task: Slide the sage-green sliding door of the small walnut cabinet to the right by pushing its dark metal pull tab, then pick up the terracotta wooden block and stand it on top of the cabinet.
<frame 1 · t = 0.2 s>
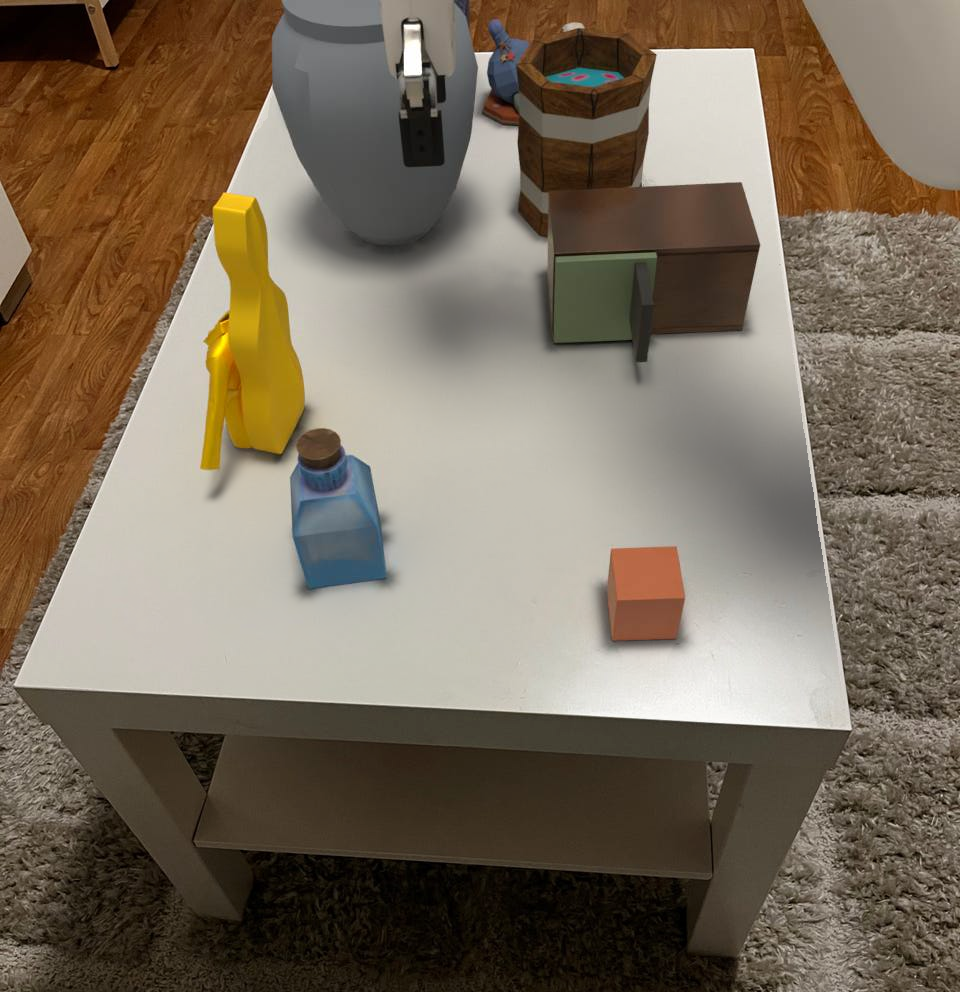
hand: (425, 132, 79), 19 cm above the table, tool pointing down, fingers open, 9 cm apart
planter: (394, 115, 118), on the table
model: (533, 108, 118), on the table
vase: (394, 227, 105), on the table
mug: (576, 193, 107), on the table
block: (641, 614, 73), on the table
figure statuette: (272, 432, 87), on the table
cabinet: (641, 302, 95), on the table
perfume bottle: (345, 555, 78), on the table
door: (605, 320, 86), point 5 cm above the table, slide at 0.0 cm
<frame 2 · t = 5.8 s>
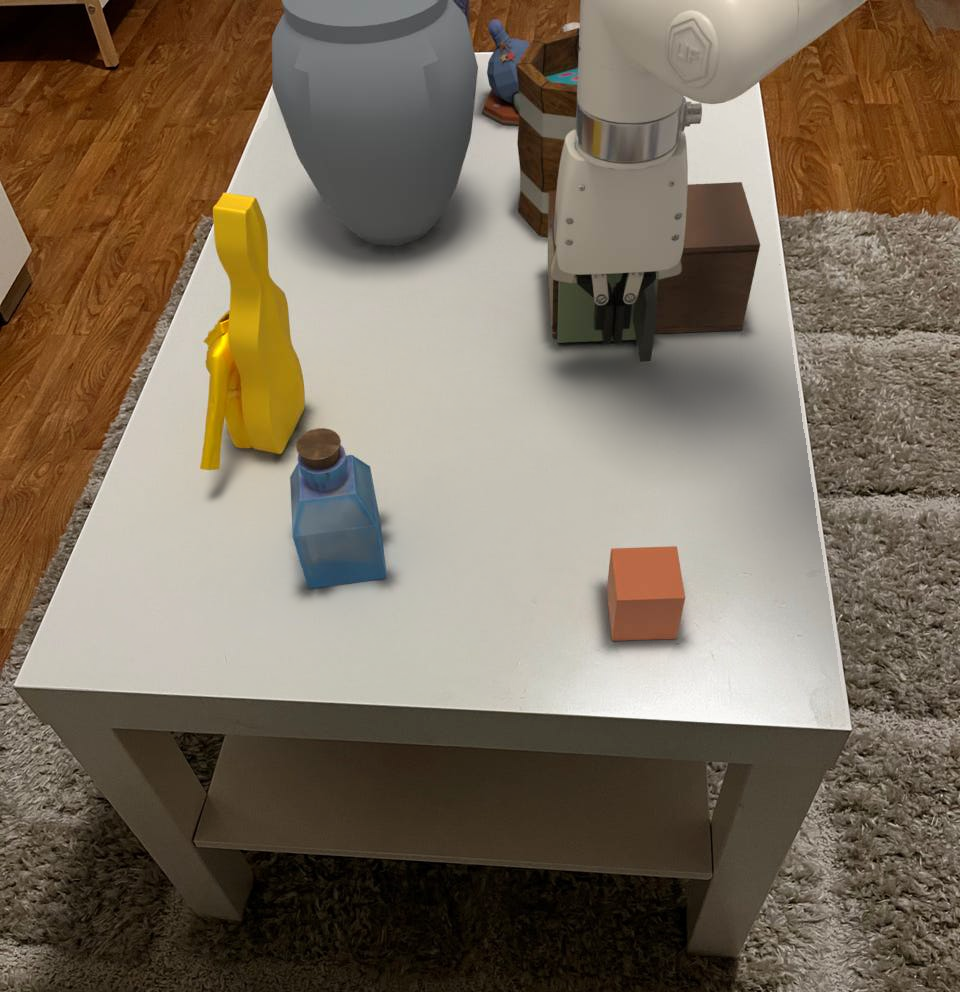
hand: (610, 333, 85), 5 cm above the table, tool pointing down, fingers closed
door: (609, 319, 86), point 5 cm above the table, slide at 0.4 cm, touching gripper
everything else where it was.
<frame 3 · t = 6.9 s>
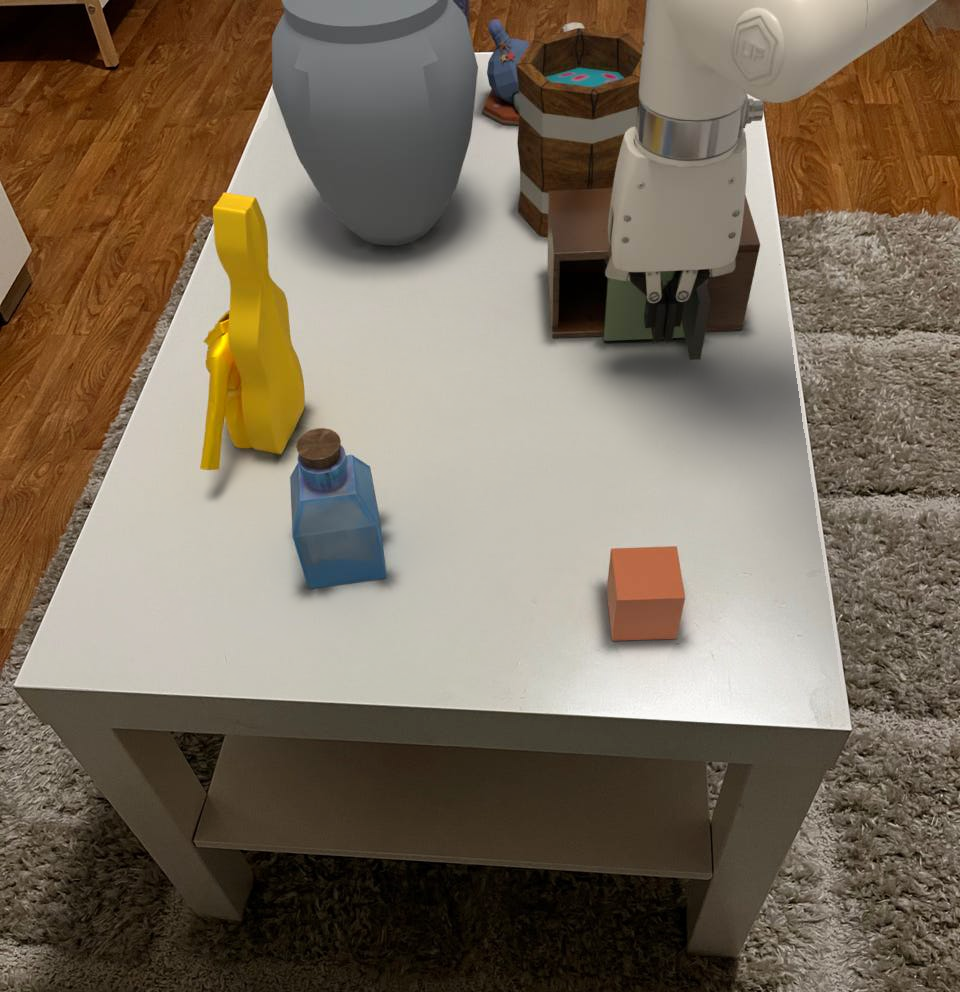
hand: (660, 331, 85), 5 cm above the table, tool pointing down, fingers closed
door: (659, 317, 86), point 5 cm above the table, slide at 4.7 cm, touching gripper
everything else where it was.
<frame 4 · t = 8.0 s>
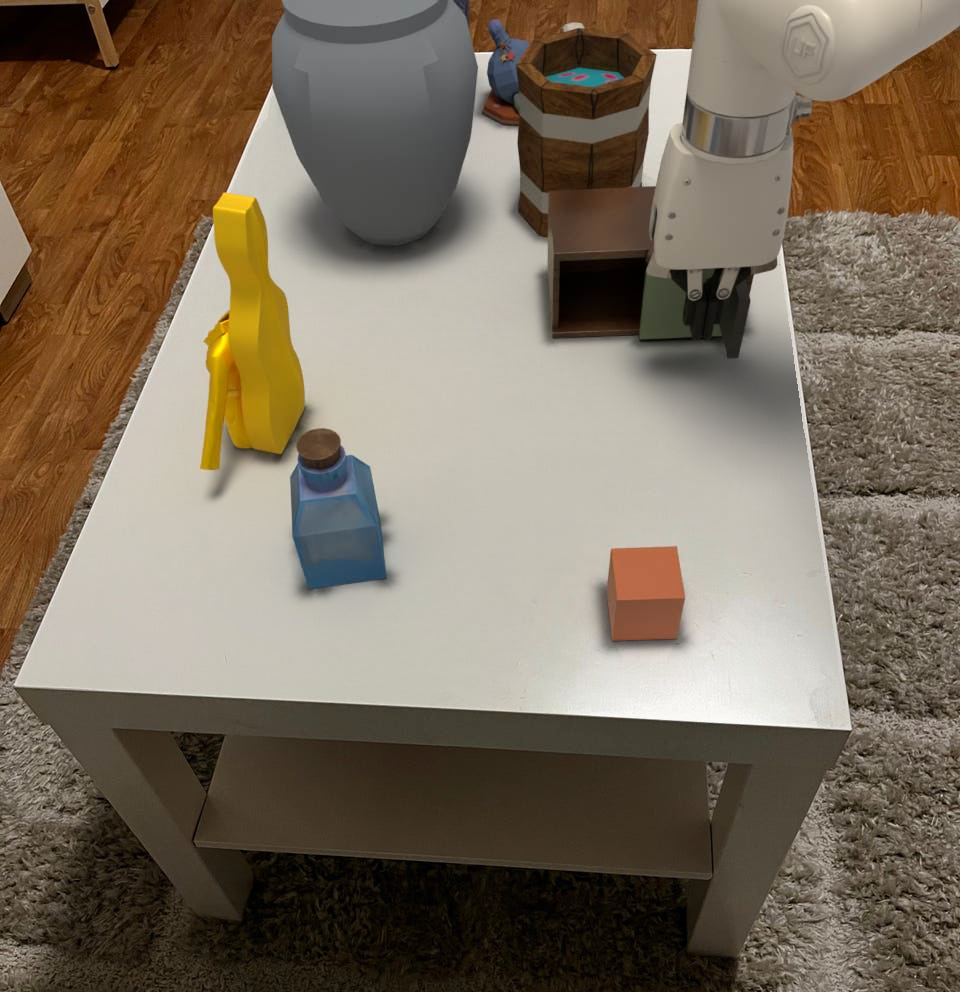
hand: (699, 329, 85), 5 cm above the table, tool pointing down, fingers closed
door: (696, 316, 86), point 5 cm above the table, slide at 8.1 cm, touching gripper
everything else where it was.
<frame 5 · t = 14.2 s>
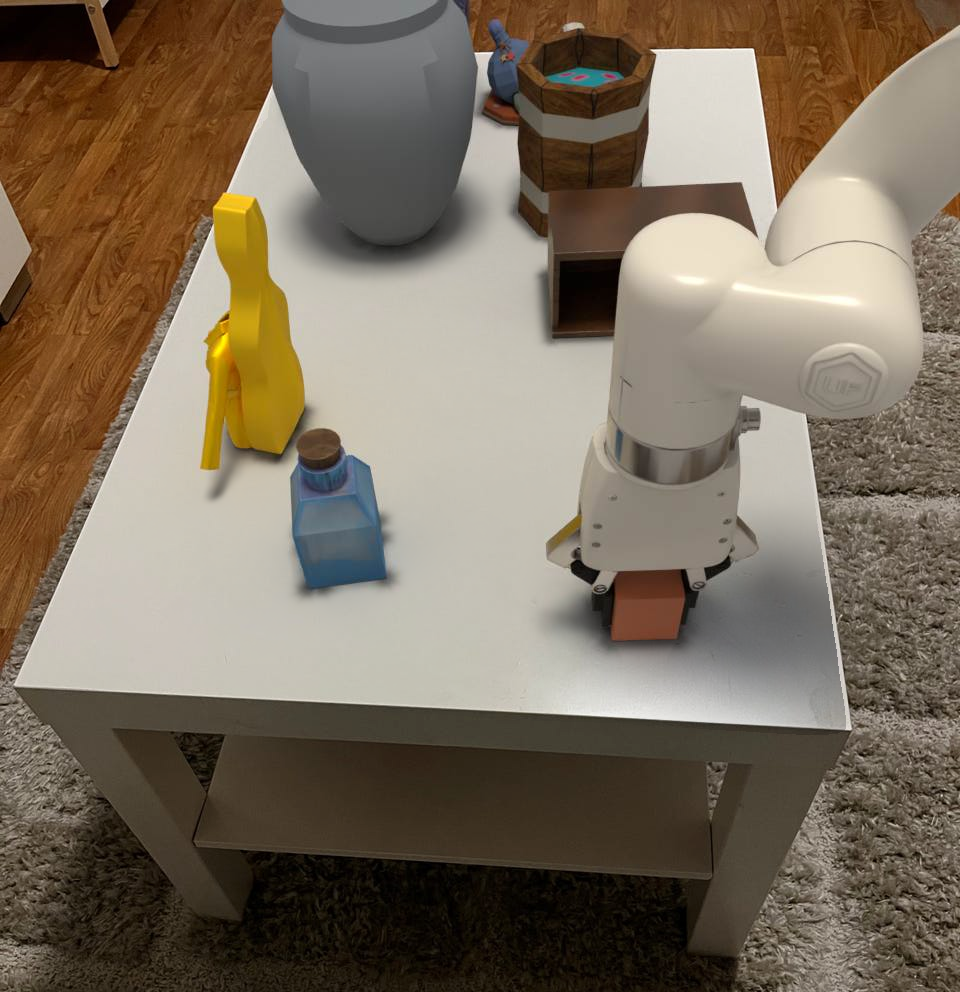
hand: (641, 609, 73), 1 cm above the table, tool pointing down, fingers closed on block, 4 cm apart
block: (641, 614, 73), on the table, touching gripper
door: (696, 316, 86), point 5 cm above the table, slide at 8.0 cm
everything else where it was.
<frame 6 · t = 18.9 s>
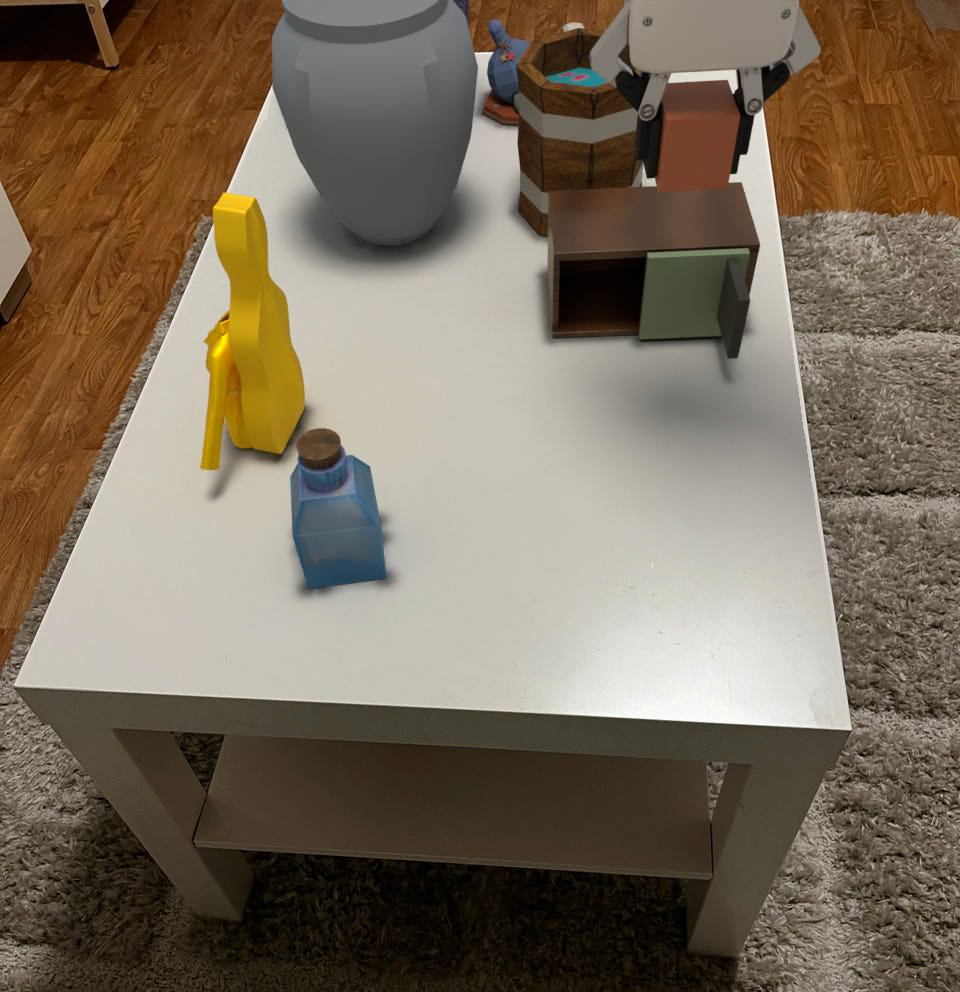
hand: (688, 163, 68), 23 cm above the table, tool pointing down, fingers closed on block, 4 cm apart
block: (687, 172, 68), point 22 cm above the table, touching gripper
everything else where it was.
when the fingers open (10 cm above the table, at t = 23.5 s): block stays where it is, resting on cabinet.
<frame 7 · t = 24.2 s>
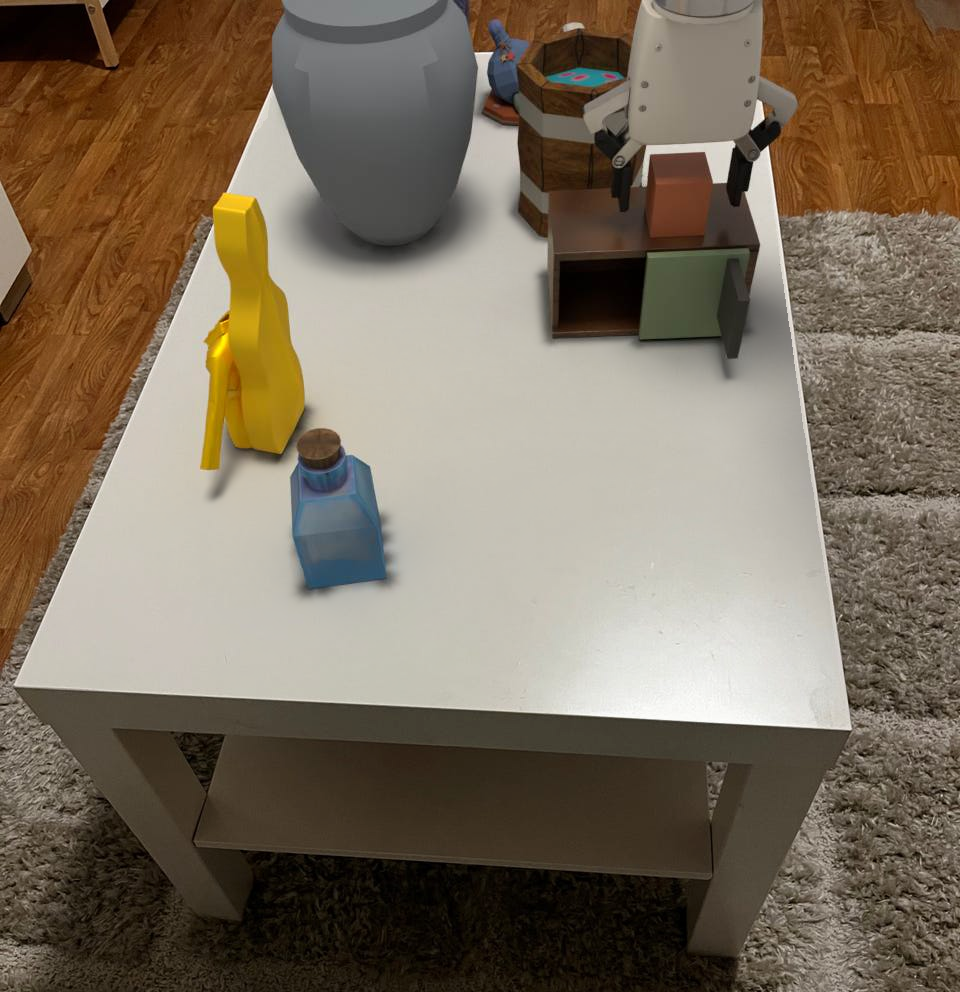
hand: (677, 201, 85), 11 cm above the table, tool pointing down, fingers open, 9 cm apart
block: (674, 221, 87), point 9 cm above the table, touching cabinet
everything else where it was.
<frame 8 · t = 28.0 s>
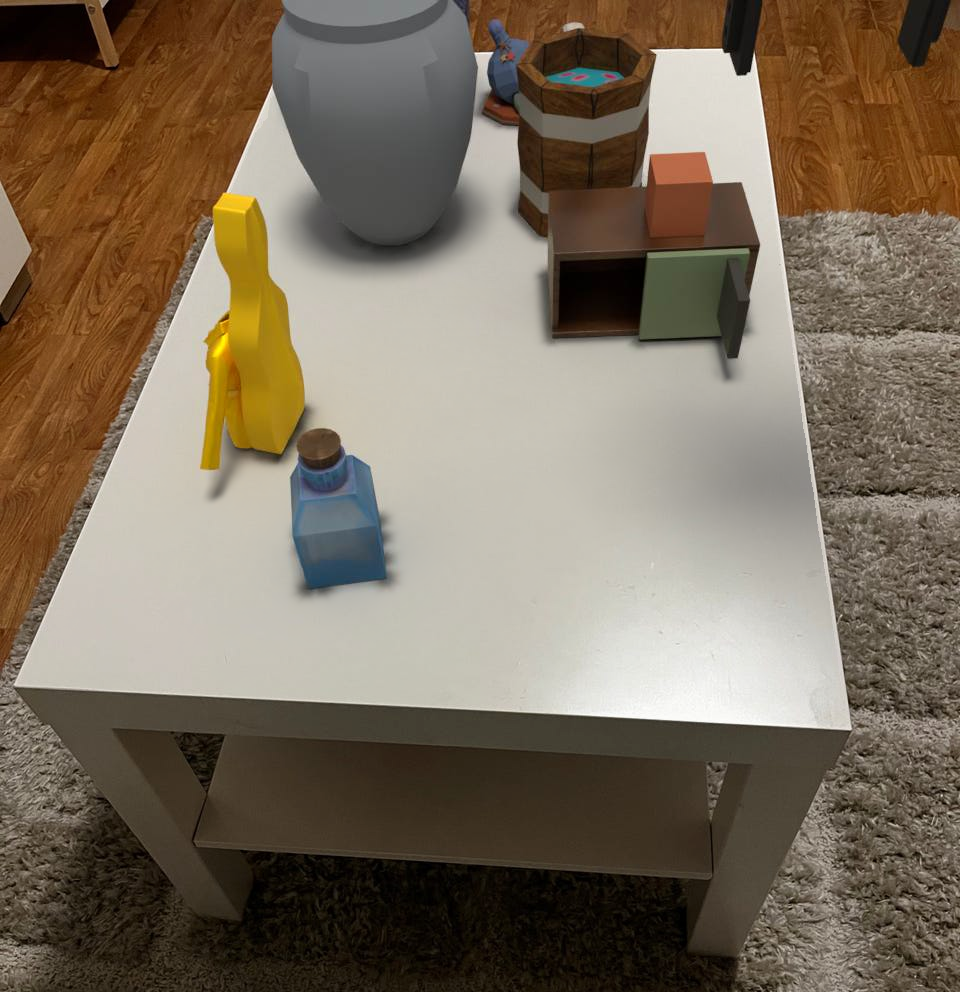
hand: (823, 60, 55), 32 cm above the table, tool pointing down, fingers open, 9 cm apart
nothing on the table moved.
at the end: door slide at 8.0 cm; block inside the target area on the cabinet (2.2 cm from its centre), point 9.0 cm above the cabinet's base; block tilted 0° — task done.
